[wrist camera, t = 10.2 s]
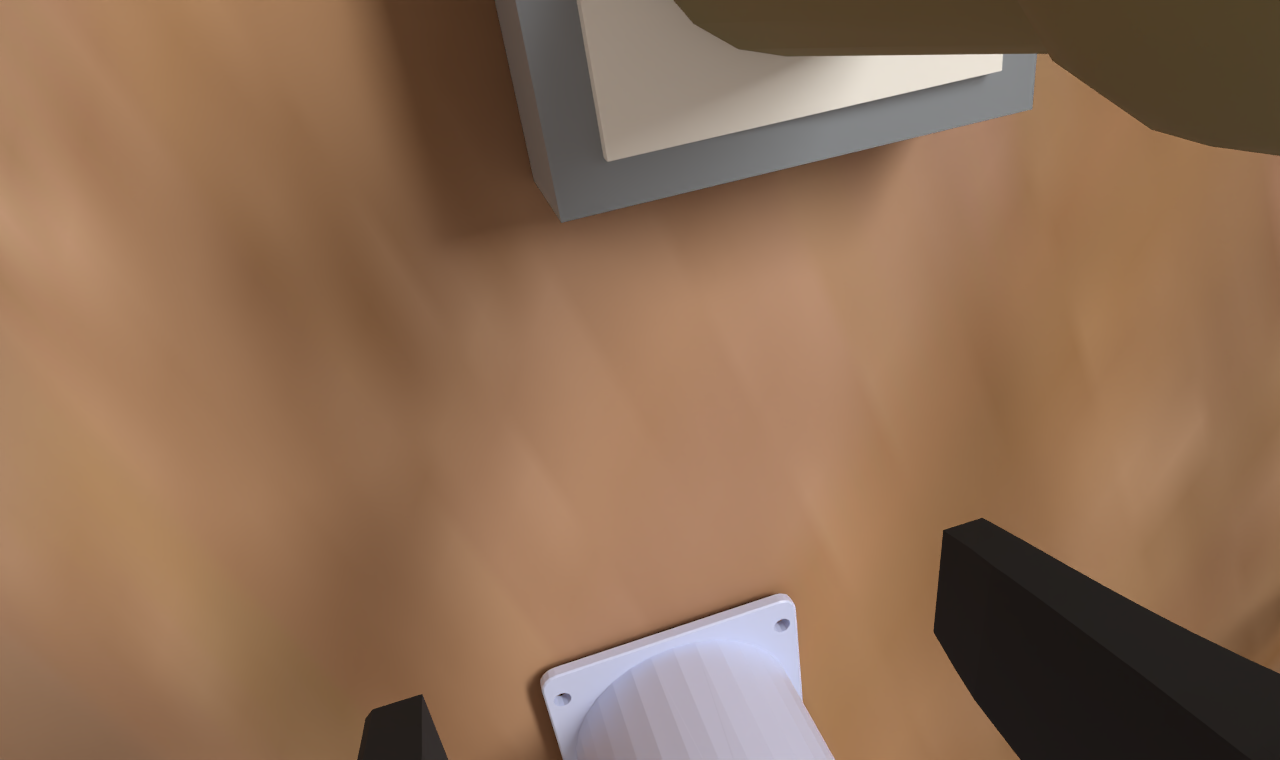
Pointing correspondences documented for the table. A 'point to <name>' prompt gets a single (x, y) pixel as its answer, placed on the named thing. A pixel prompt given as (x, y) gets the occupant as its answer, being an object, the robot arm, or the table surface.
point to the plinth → (714, 101)
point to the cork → (1058, 49)
